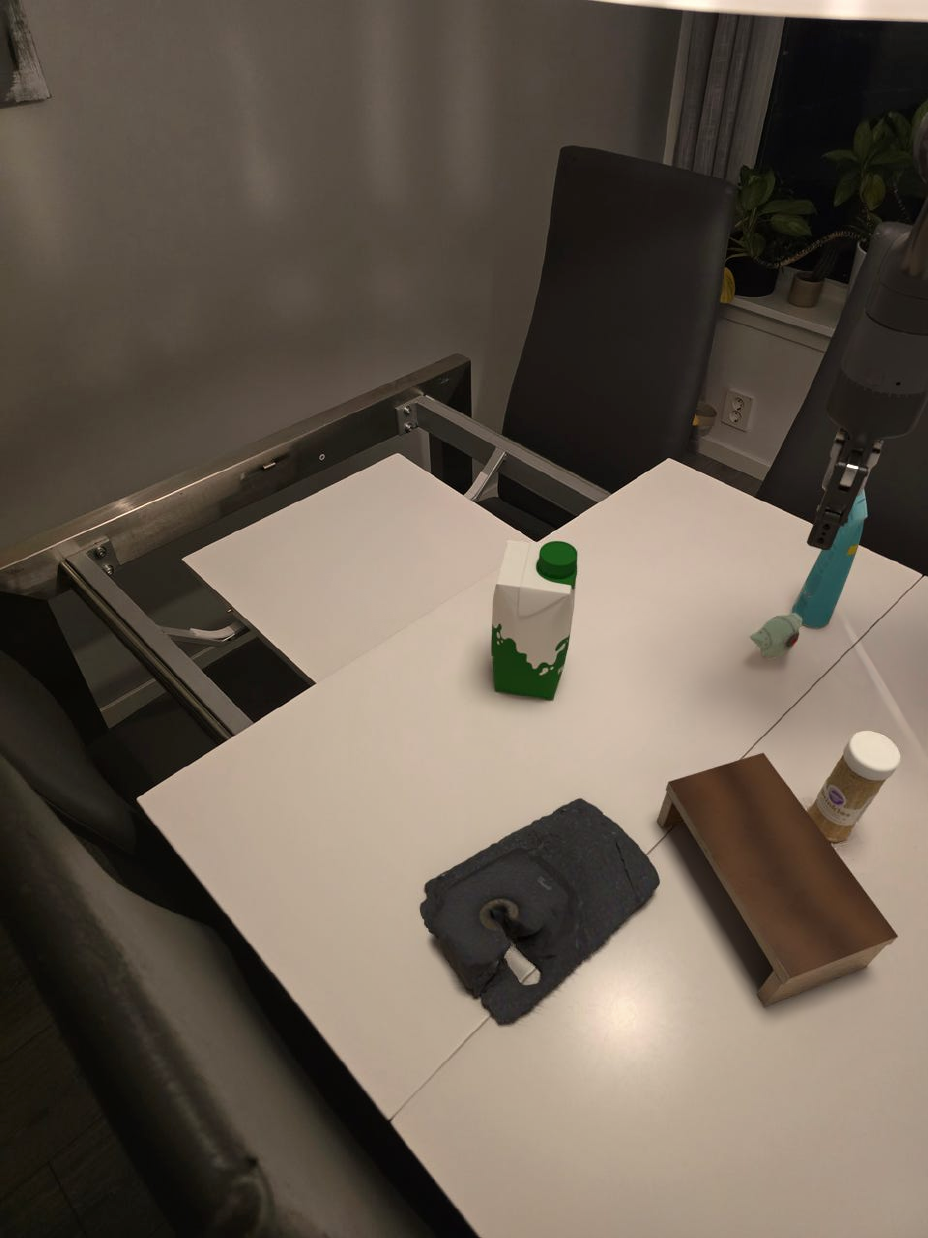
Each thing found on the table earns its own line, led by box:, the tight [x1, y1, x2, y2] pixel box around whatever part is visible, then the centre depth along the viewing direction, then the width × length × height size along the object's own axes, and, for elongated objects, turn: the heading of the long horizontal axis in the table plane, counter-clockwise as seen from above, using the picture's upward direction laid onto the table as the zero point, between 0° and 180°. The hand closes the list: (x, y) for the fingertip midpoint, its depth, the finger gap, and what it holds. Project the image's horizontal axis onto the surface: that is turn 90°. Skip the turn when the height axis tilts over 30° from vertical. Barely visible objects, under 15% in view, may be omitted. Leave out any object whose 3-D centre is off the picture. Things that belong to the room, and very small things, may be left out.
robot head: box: [749, 613, 803, 659], centre depth 96 cm, size 8×4×7 cm, turn 122°
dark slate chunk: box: [419, 797, 661, 1023], centre depth 74 cm, size 15×22×5 cm
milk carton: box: [490, 539, 579, 701], centre depth 90 cm, size 9×9×20 cm
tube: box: [791, 488, 868, 629], centre depth 97 cm, size 7×5×19 cm, turn 169°
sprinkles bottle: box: [806, 730, 901, 843], centre depth 77 cm, size 5×4×13 cm
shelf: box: [656, 752, 899, 1007], centre depth 75 cm, size 11×20×7 cm, turn 19°
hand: (825, 521), depth 77 cm, fingers open, 8 cm apart
